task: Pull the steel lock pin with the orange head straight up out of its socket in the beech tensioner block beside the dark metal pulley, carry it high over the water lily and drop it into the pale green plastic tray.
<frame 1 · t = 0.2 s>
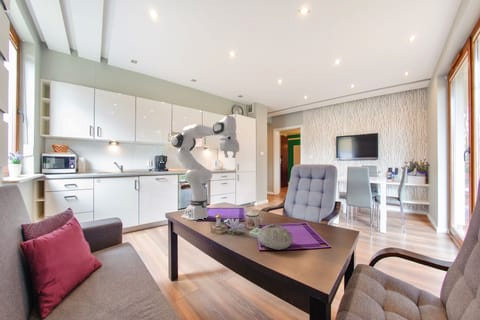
hand: (230, 157, 142), 47 cm above the table, fingers open, 8 cm apart
tensioner block: (218, 231, 125), on the table
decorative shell: (274, 246, 102), on the table
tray: (259, 235, 117), on the table
pulley: (228, 227, 133), on the table
lock pin: (218, 223, 125), in the tensioner block
water lily: (236, 233, 121), on the table
teacup with lid: (254, 227, 132), on the table
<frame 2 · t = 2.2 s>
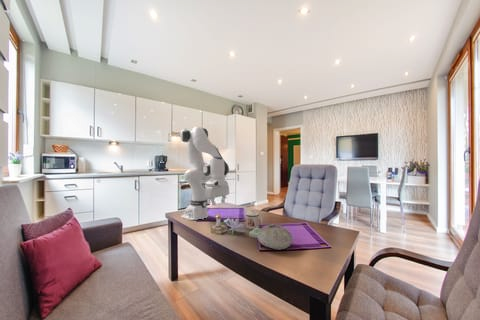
hand: (218, 203, 125), 18 cm above the table, fingers open, 8 cm apart
nothing on the table moved.
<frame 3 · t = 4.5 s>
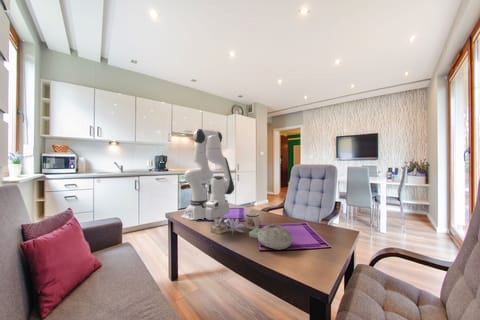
hand: (218, 223, 125), 5 cm above the table, fingers closed on lock pin, 2 cm apart
lock pin: (218, 223, 125), in the tensioner block, touching gripper
everything else where it was.
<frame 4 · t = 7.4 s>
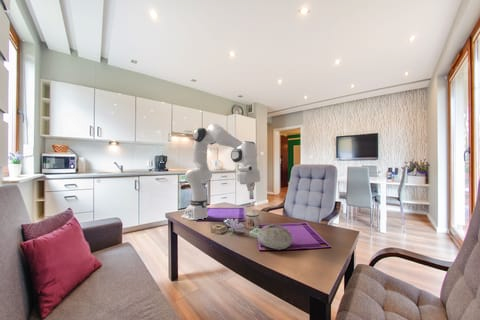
hand: (251, 190, 119), 27 cm above the table, fingers closed on lock pin, 2 cm apart
lock pin: (251, 190, 118), point 27 cm above the table, touching gripper
everything else where it was.
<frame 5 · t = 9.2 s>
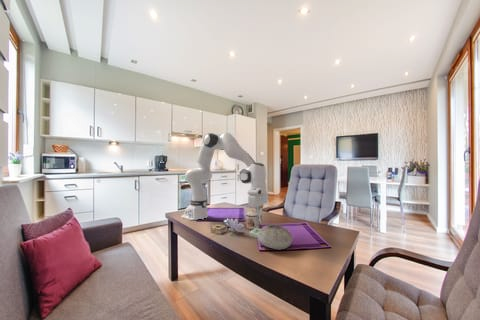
hand: (259, 213, 117), 13 cm above the table, fingers closed on lock pin, 2 cm apart
lock pin: (259, 213, 117), point 13 cm above the table, touching gripper
everything else where it was.
when the fingers open (7 cm above the table, at t = 10.5 s): lock pin drops 2 cm, resting on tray.
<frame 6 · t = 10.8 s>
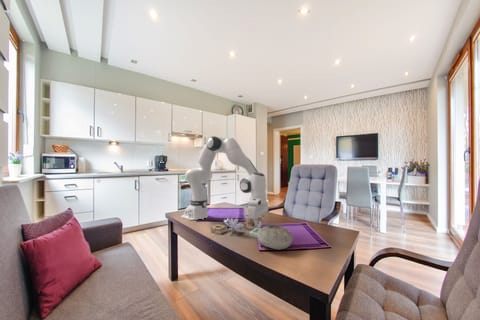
hand: (259, 223, 117), 7 cm above the table, fingers open, 5 cm apart
lock pin: (259, 226, 117), in the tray, point 6 cm above the table
everything else where it was.
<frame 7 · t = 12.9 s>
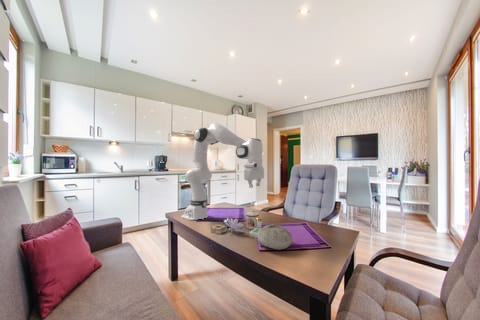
hand: (254, 186, 121), 29 cm above the table, fingers open, 8 cm apart
nothing on the table moved.
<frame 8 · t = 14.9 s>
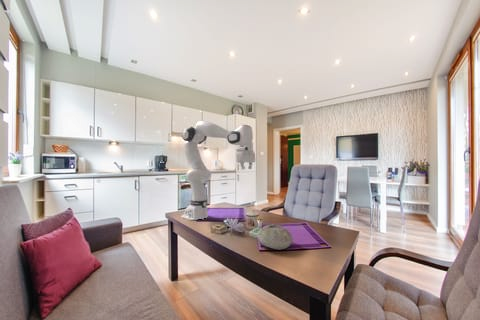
hand: (246, 169, 133), 39 cm above the table, fingers open, 8 cm apart
nothing on the table moved.
at the end: lock pin inside the target area on the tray (0.2 cm from its centre), point 5.6 cm above the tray's base; the gripper is holding nothing; lock pin touching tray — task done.
